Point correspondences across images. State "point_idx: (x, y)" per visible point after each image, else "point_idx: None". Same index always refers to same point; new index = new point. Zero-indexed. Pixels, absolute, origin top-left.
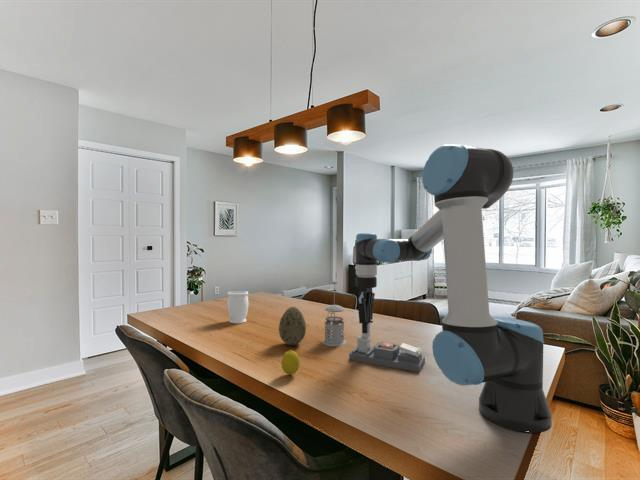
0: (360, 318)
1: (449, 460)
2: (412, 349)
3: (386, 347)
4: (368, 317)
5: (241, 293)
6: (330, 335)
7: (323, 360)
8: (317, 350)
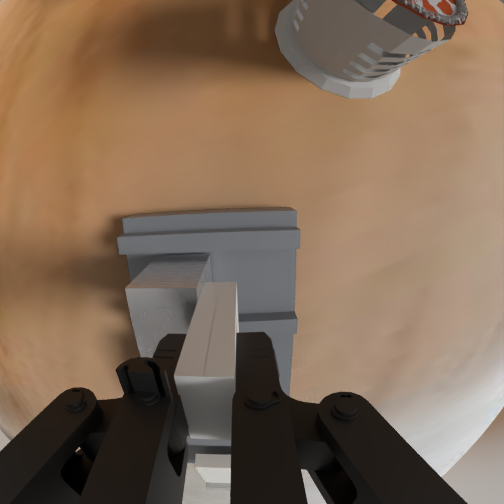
0: (39, 439)
1: (9, 434)
2: (220, 479)
3: None
4: (179, 500)
5: None
6: (300, 5)
7: (71, 118)
8: (177, 20)
